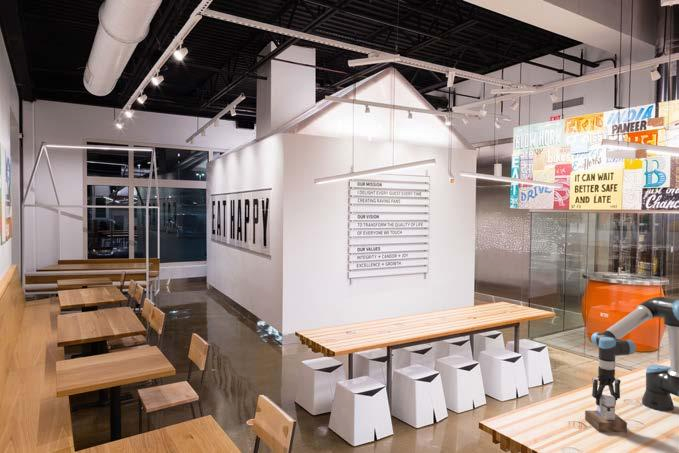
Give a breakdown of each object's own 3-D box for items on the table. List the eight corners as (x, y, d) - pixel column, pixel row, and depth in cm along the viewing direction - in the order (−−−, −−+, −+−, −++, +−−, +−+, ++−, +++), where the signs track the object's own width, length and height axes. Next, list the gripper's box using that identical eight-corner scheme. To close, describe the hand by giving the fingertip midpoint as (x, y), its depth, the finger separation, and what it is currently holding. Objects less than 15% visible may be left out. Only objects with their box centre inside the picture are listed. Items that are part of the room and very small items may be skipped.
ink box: (596, 413, 245) (596, 391, 245) (605, 412, 245) (605, 390, 245) (605, 420, 237) (606, 397, 236) (615, 420, 237) (615, 397, 237)
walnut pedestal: (611, 420, 248) (611, 410, 248) (626, 432, 234) (627, 422, 234) (585, 419, 249) (585, 410, 248) (598, 432, 235) (598, 422, 234)
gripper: (620, 365, 244) (619, 408, 245) (584, 364, 244) (583, 407, 245) (629, 370, 236) (628, 414, 237) (592, 369, 237) (591, 414, 238)
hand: (605, 411), depth 241 cm, fingers open, 6 cm apart
